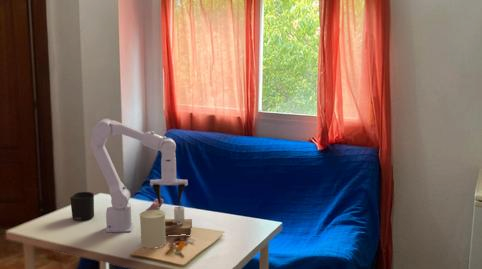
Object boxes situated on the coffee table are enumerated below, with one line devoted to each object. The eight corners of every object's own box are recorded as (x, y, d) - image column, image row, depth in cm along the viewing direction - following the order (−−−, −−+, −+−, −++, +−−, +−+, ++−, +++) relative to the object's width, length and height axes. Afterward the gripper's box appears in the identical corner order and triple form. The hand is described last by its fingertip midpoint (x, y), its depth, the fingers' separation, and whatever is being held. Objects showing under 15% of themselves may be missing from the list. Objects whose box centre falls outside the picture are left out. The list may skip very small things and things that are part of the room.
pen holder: (68, 217, 213) (66, 194, 212) (89, 212, 219) (87, 190, 218) (77, 223, 206) (75, 200, 204) (98, 218, 212) (97, 195, 211)
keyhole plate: (153, 236, 192) (153, 228, 192) (156, 227, 202) (156, 219, 201) (190, 236, 193) (190, 228, 192) (192, 226, 202) (191, 219, 202)
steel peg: (174, 233, 196) (173, 209, 194) (175, 229, 200) (174, 206, 198) (184, 233, 196) (183, 209, 194) (185, 229, 200) (184, 206, 198)
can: (162, 249, 181) (161, 217, 178) (137, 248, 182) (136, 216, 180) (169, 239, 190) (168, 208, 187) (145, 238, 191) (144, 207, 189)
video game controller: (152, 218, 216) (159, 205, 215) (143, 213, 217) (150, 200, 215) (160, 211, 226) (167, 198, 224) (152, 206, 226) (158, 193, 224)
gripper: (148, 172, 194) (149, 206, 196) (186, 172, 194) (186, 205, 197) (151, 167, 201) (152, 200, 203) (187, 167, 201) (188, 200, 204)
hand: (169, 202), depth 200 cm, fingers open, 7 cm apart
